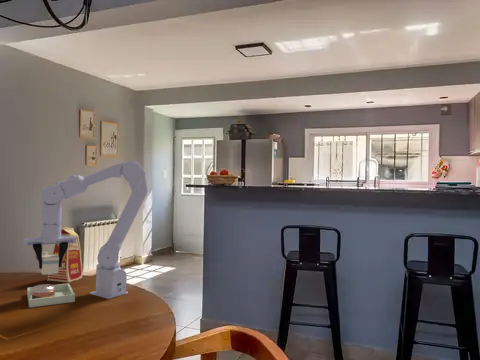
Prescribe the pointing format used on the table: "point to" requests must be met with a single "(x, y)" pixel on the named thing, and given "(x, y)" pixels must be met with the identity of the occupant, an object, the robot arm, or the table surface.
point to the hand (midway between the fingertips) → (50, 267)
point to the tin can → (43, 291)
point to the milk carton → (68, 259)
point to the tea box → (50, 264)
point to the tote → (61, 296)
